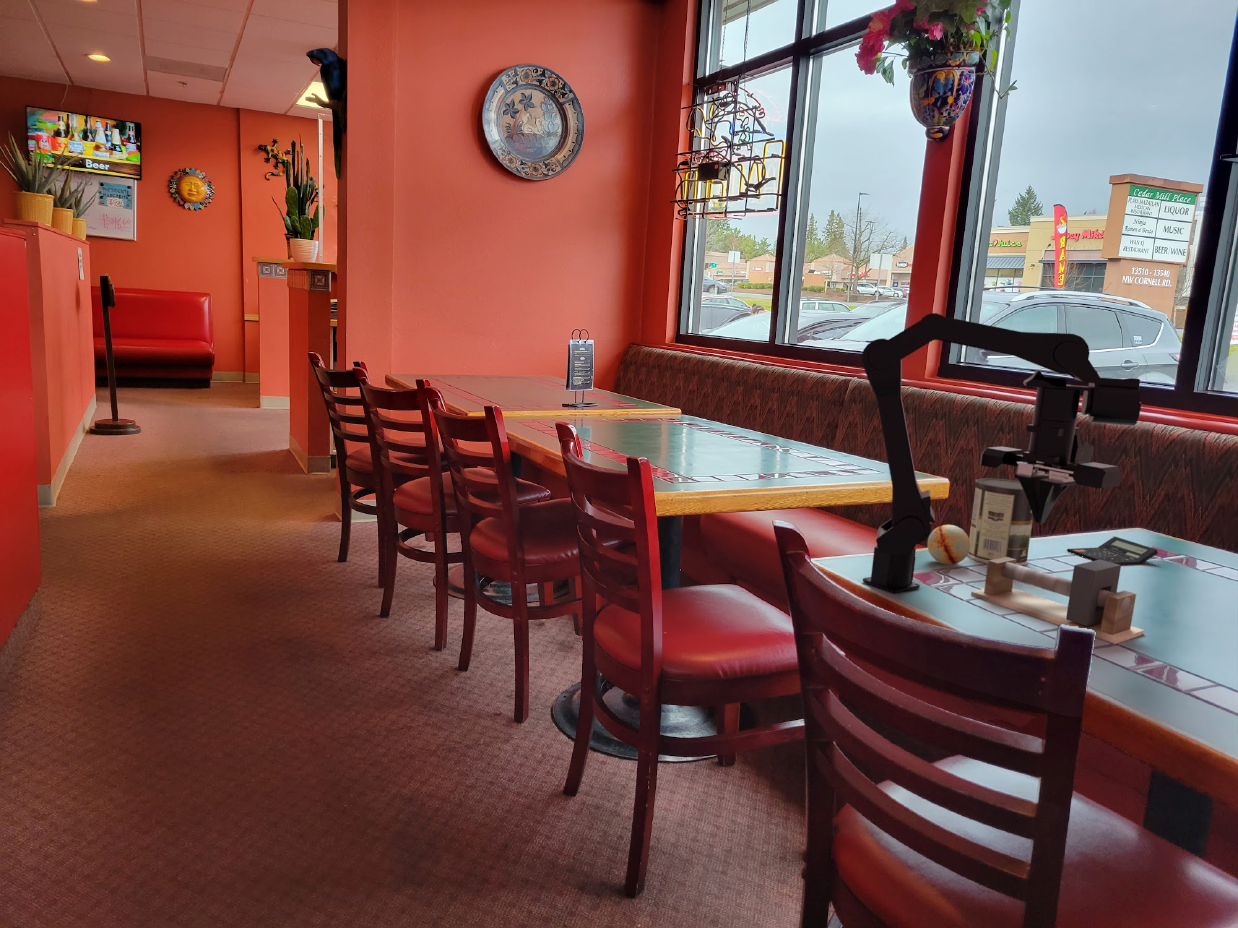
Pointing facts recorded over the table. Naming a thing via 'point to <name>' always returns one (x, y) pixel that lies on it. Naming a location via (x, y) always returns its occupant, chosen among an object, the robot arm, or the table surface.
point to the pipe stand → (1002, 593)
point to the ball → (948, 544)
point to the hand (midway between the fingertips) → (1039, 522)
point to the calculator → (1117, 552)
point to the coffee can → (1000, 521)
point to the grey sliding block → (1091, 590)
